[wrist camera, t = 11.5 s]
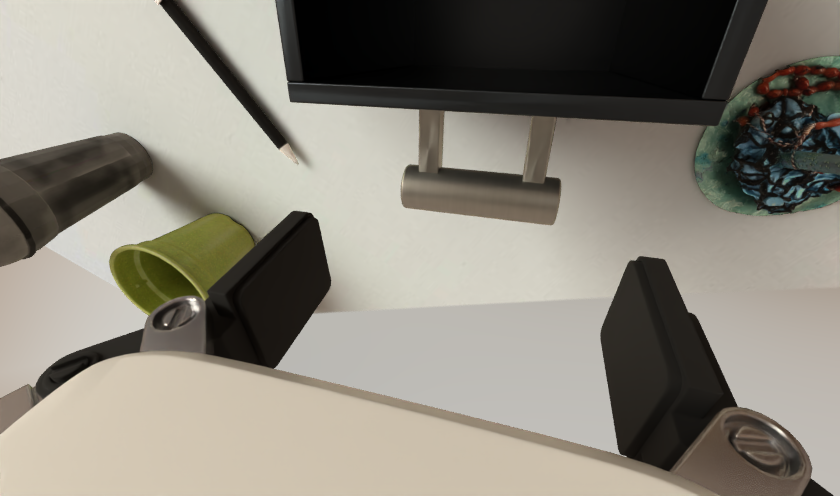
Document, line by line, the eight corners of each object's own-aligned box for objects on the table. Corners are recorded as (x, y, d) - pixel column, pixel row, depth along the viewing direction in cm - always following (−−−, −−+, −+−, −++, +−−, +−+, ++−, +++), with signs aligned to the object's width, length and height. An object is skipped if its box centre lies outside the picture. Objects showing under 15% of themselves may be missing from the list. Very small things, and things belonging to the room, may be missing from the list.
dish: (672, 174, 20) (888, 174, 14) (711, 61, 21) (935, 16, 15) (708, 227, 25) (881, 244, 19) (739, 134, 26) (917, 122, 20)
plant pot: (170, 200, 36) (86, 249, 30) (243, 192, 33) (166, 244, 26) (218, 274, 41) (154, 330, 34) (285, 273, 38) (230, 334, 31)
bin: (406, -150, 18) (204, -469, 7) (683, -180, 15) (1083, -785, 4) (407, 147, 25) (308, 226, 14) (596, 162, 22) (659, 275, 11)
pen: (99, -98, 23) (81, -101, 22) (304, 159, 29) (297, 165, 28) (94, -86, 23) (76, -89, 22) (297, 164, 30) (290, 170, 29)
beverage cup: (172, 201, 36) (-107, 362, 21) (108, 177, 37) (-212, 317, 21) (156, 132, 32) (-215, 271, 16) (84, 105, 32) (-345, 216, 17)
